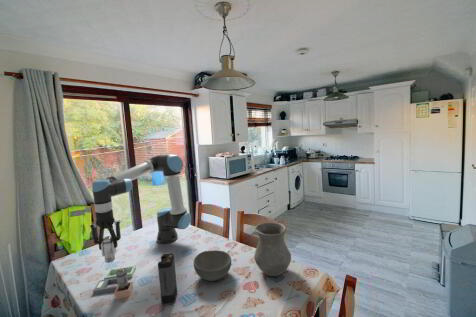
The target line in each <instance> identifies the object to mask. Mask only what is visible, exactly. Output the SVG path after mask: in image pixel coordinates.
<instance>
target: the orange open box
mask: <svg viewBox="0 0 476 317" xmlns="http://www.w3.org/2000/svg"><path fill="white" fill-rule="evenodd" d="M128 286H129V288H128V290H123V291H119V289H118V287H117V289H116V291H114V298H115V300H119V299H125V298H130V296H131V295H132V291H133V289H134V285H133V281H128Z"/></svg>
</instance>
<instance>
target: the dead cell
mask: <svg viewBox="0 0 476 317" xmlns="http://www.w3.org/2000/svg"><path fill="white" fill-rule="evenodd" d="M119 268H120V269H119V270H117V271H116V276H117V282H116V283H117V286H118V289H119V291H123V290H128V288H129V286H128V282H129V278H127V271H126V268H121V267H119Z"/></svg>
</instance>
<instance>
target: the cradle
mask: <svg viewBox="0 0 476 317" xmlns="http://www.w3.org/2000/svg"><path fill="white" fill-rule="evenodd" d="M97 282H98V283H97V284H96V285H95V287H94V289H93V290H92V293H93V295H99V294H103V293H105V294H106V293H109V292H115V291H116V289H117V287H118V285H112V286H109V285H110V284H113V283H118V282H117V278H111V279H105V280H104V279H101V280H98V281H97Z"/></svg>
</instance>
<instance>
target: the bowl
mask: <svg viewBox="0 0 476 317" xmlns="http://www.w3.org/2000/svg"><path fill="white" fill-rule="evenodd" d="M231 266H232V257H231V254H229V253H228V252H226V251H223V250H218V249H217V250H216V249H215V250H203V251H202V252H200V253H198V254H196V256H195V257H194V260H193V268H194V271H195V274H197V276H199V278H201V279H203V280H205V281H209V282H211V281H213V282H214V281H218V280H221V279H222V278H224V277H225V276H227V274H228V273H229V271H230V269H231Z"/></svg>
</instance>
